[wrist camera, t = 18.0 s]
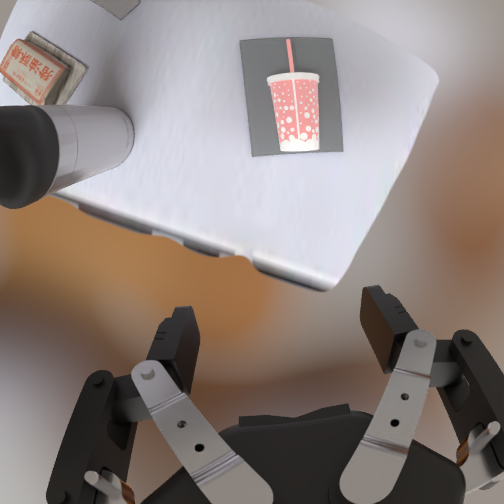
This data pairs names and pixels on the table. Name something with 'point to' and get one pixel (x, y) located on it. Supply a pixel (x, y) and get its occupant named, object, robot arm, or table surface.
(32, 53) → the packaged product
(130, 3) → the vintage mobile phone
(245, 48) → the mat
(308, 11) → the table surface
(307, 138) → the beverage cup
